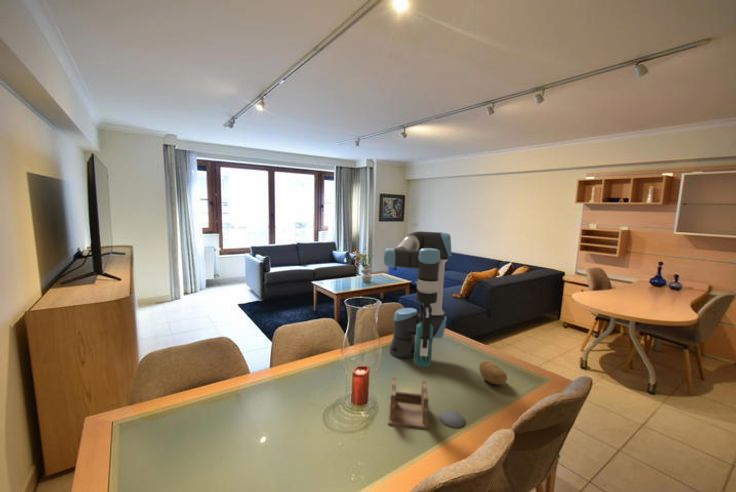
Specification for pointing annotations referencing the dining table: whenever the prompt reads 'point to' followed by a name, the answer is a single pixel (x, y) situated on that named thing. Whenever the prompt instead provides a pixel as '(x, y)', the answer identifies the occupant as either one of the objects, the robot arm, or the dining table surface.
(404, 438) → the dining table surface
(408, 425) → the holder
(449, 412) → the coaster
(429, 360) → the beverage bottle
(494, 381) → the potato
